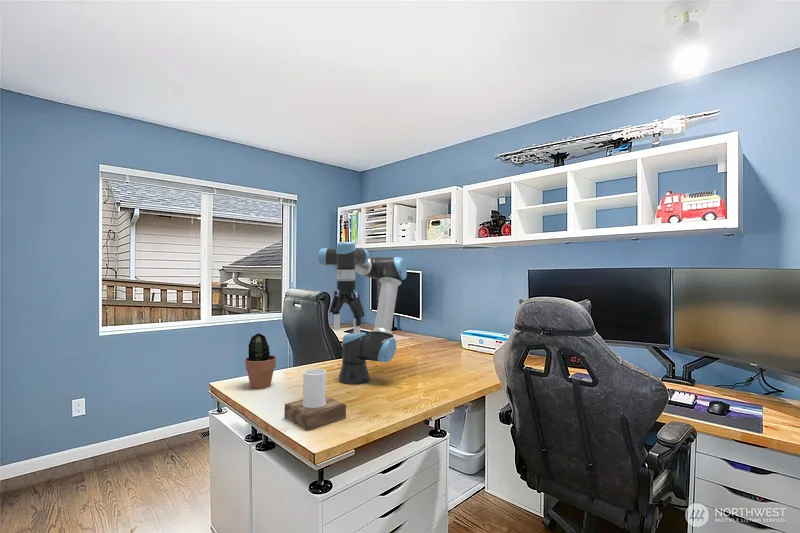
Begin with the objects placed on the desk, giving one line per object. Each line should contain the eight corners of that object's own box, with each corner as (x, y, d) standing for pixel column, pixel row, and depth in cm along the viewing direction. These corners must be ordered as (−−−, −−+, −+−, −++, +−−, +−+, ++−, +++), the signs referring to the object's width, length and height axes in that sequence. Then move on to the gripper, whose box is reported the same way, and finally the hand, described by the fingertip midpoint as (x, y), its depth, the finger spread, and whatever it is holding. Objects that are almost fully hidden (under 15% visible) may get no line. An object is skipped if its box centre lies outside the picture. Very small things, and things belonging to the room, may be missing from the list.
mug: (306, 397, 148) (306, 366, 148) (328, 397, 148) (328, 366, 149) (300, 408, 136) (300, 374, 136) (324, 408, 137) (324, 374, 137)
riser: (284, 417, 142) (284, 403, 142) (321, 406, 153) (321, 393, 153) (307, 430, 130) (308, 414, 130) (345, 418, 142) (346, 403, 142)
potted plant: (281, 386, 180) (281, 332, 180) (252, 392, 170) (253, 336, 170) (267, 380, 189) (268, 329, 190) (239, 386, 180) (240, 332, 180)
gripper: (321, 279, 163) (321, 329, 163) (358, 281, 145) (358, 337, 145) (336, 278, 168) (336, 327, 168) (373, 280, 150) (373, 334, 150)
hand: (346, 332), depth 157 cm, fingers open, 13 cm apart
